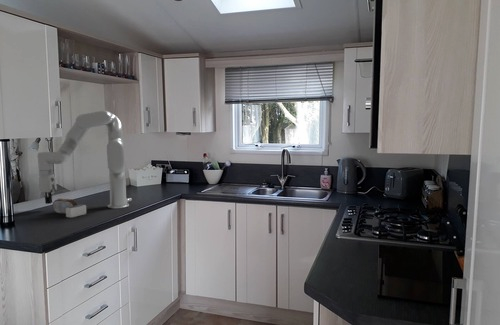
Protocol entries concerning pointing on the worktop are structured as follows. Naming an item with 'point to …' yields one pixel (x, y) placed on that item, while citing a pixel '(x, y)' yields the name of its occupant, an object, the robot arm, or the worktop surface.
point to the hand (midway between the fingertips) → (48, 203)
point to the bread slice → (63, 205)
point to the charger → (75, 210)
